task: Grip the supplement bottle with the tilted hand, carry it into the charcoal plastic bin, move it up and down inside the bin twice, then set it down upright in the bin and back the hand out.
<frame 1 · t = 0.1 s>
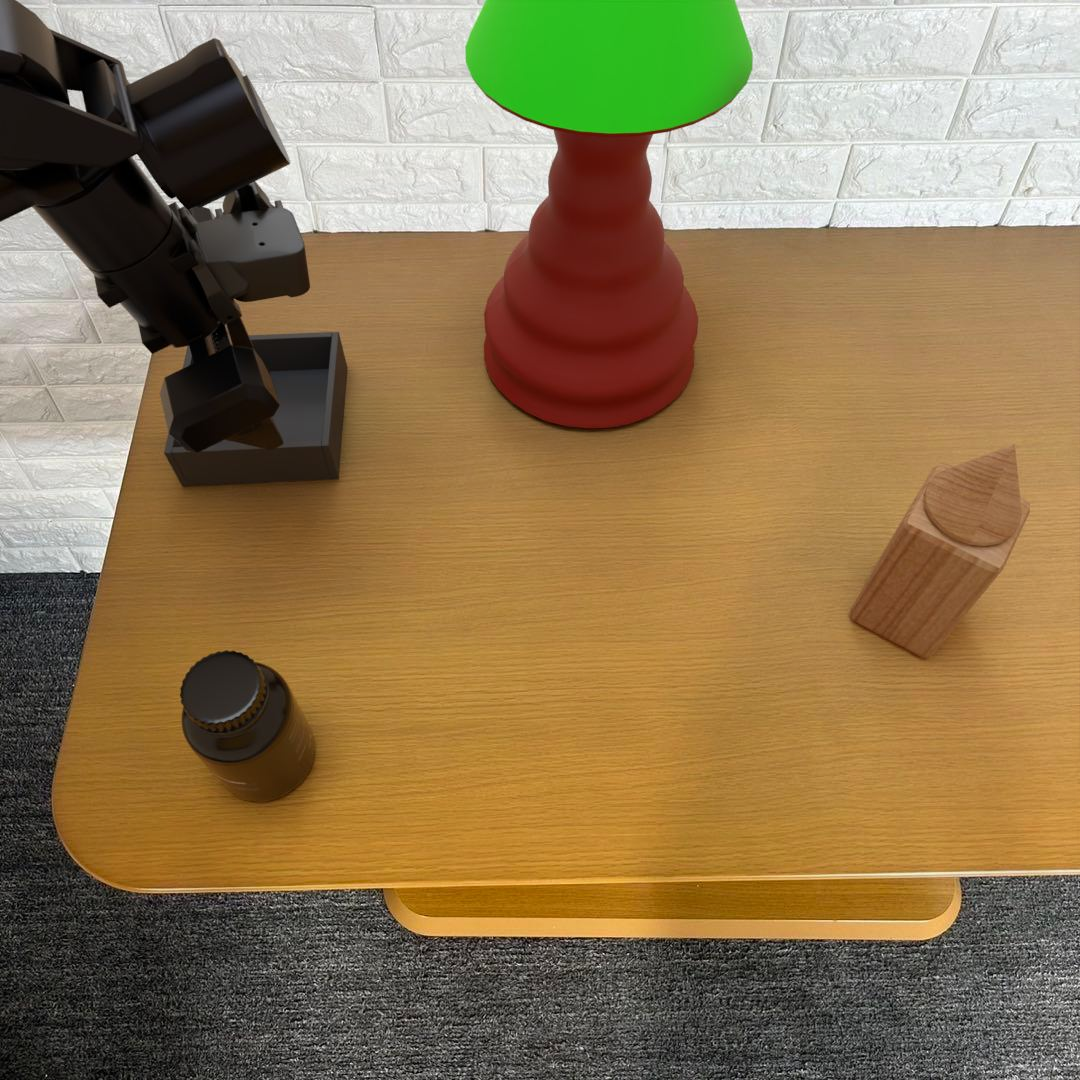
hand: (262, 399, 64), 13 cm above the table, tool pointing down, fingers open, 9 cm apart
supplement bottle: (269, 757, 63), on the table
bin: (268, 424, 80), on the table
table lamp: (588, 354, 85), on the table
decorative item: (900, 611, 70), on the table
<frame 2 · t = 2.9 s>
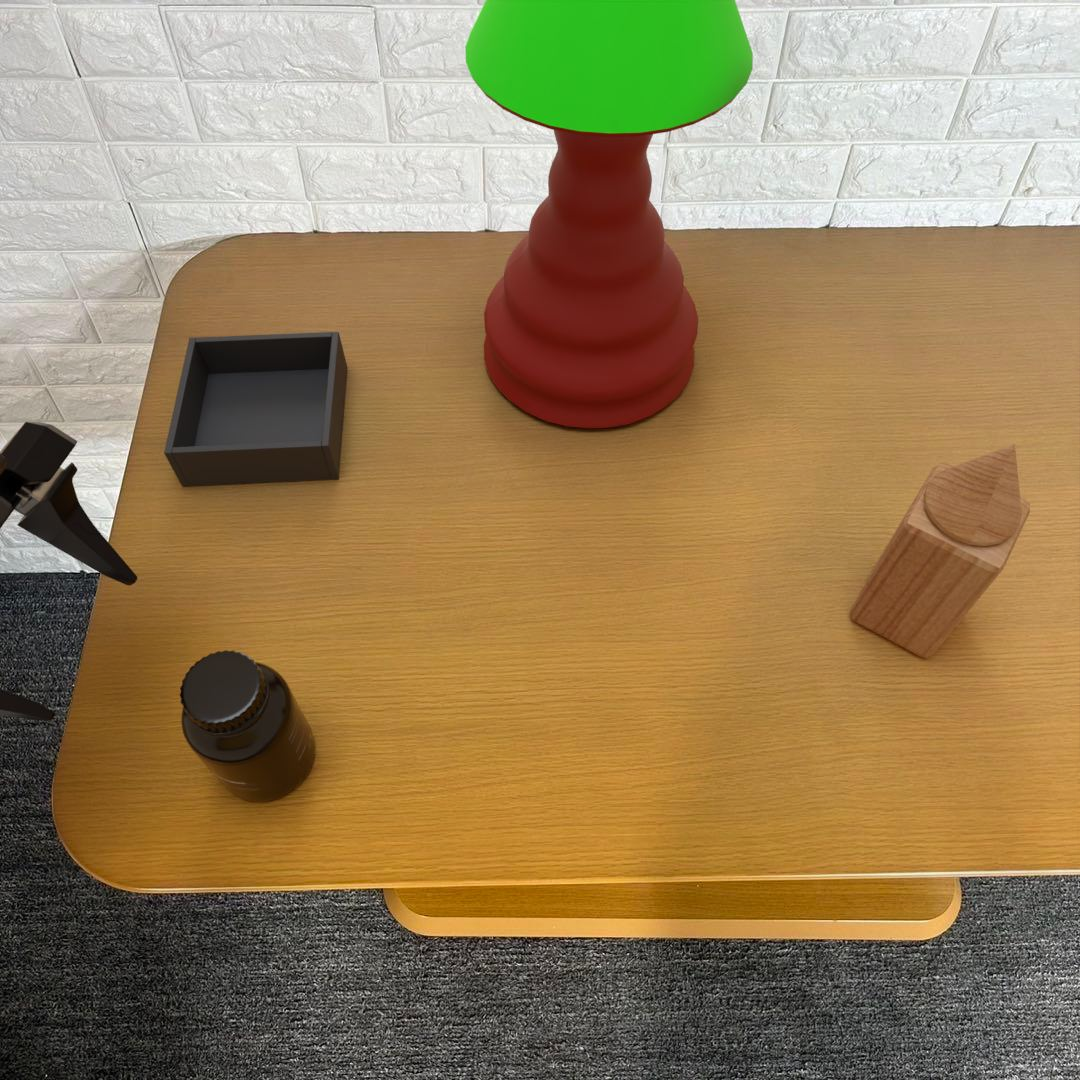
hand: (95, 646, 53), 13 cm above the table, tool tilted 45°, fingers open, 9 cm apart
nothing on the table moved.
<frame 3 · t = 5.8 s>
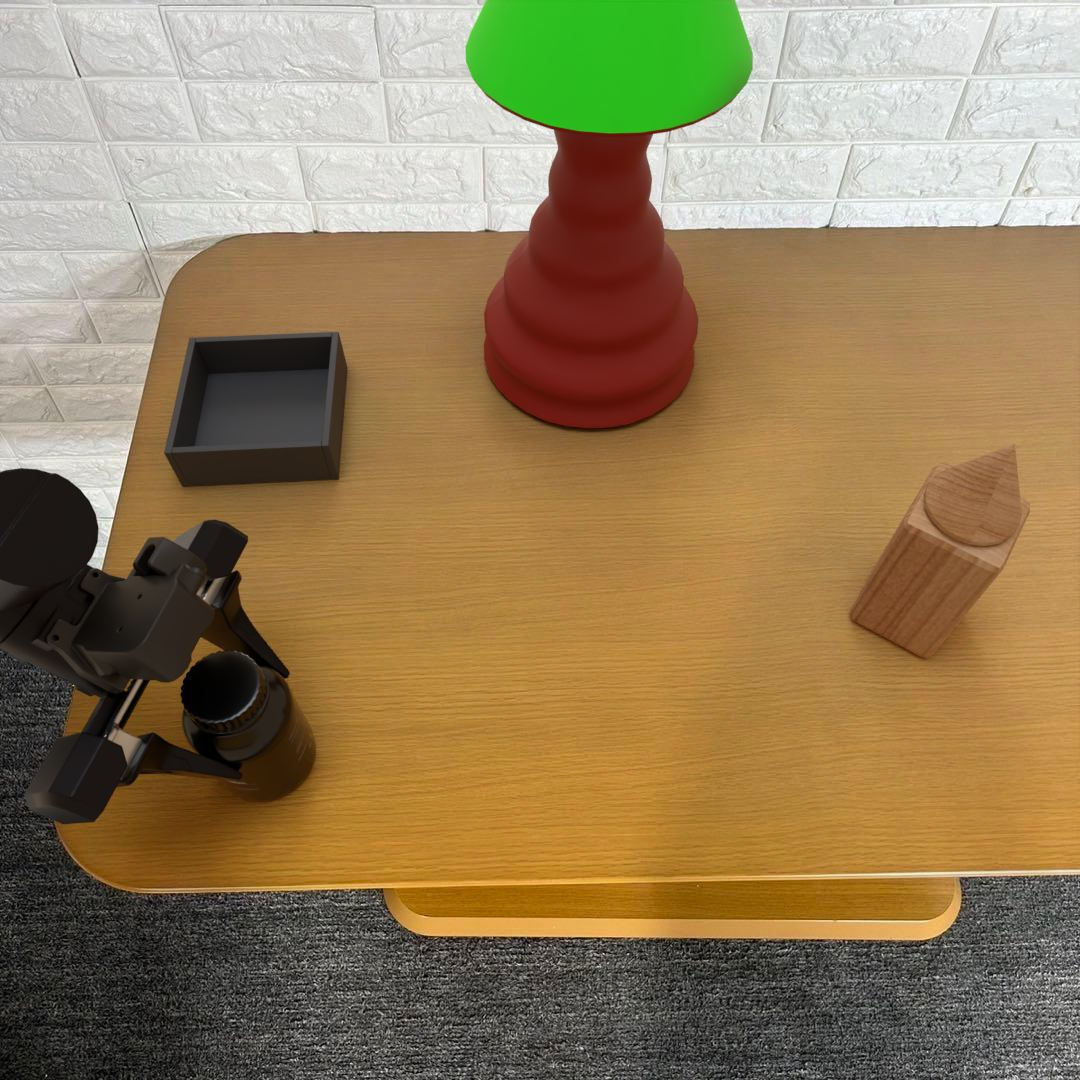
hand: (263, 725, 57), 7 cm above the table, tool tilted 45°, fingers closed on supplement bottle, 7 cm apart
supplement bottle: (270, 757, 63), on the table, touching gripper
everything else where it was.
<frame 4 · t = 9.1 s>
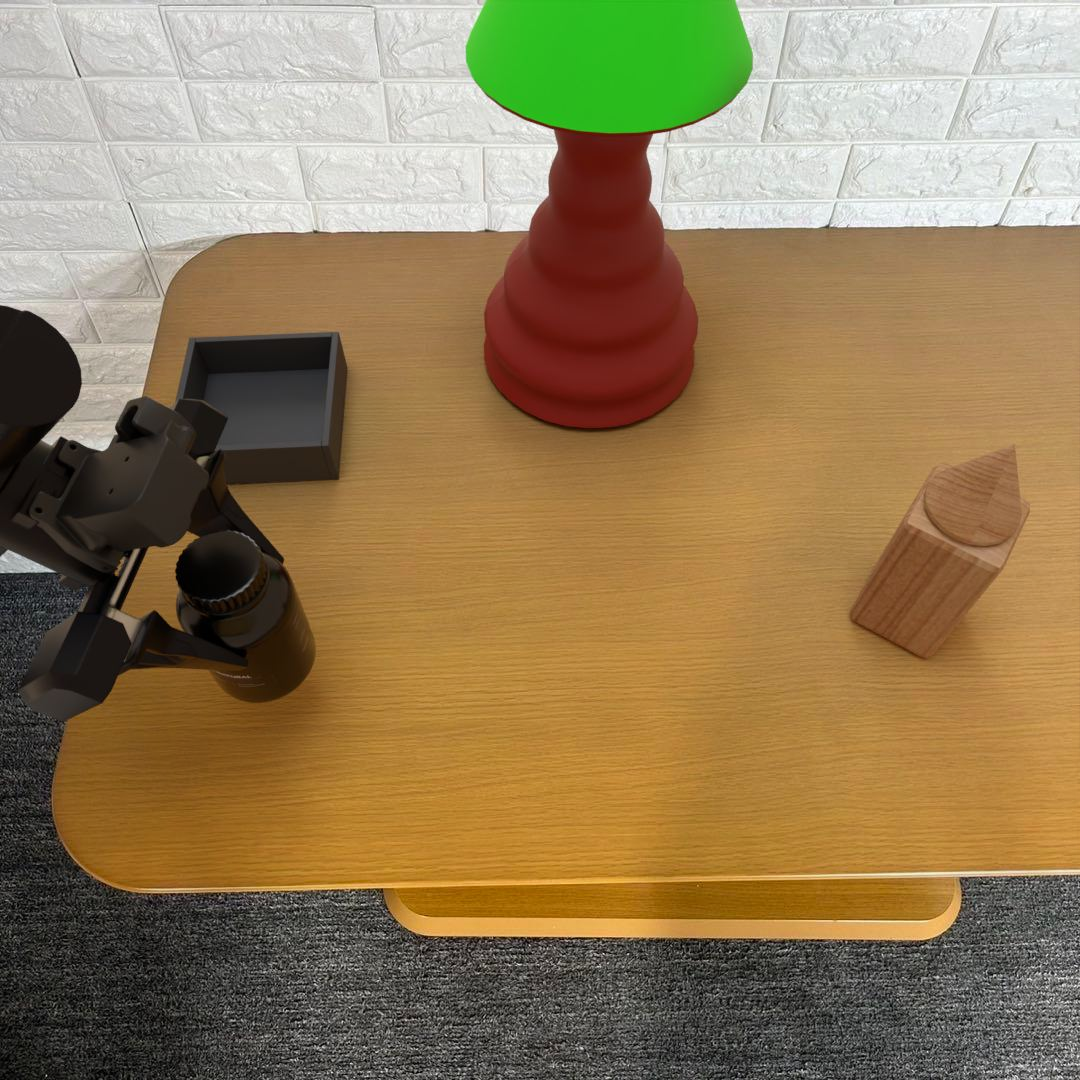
hand: (263, 614, 54), 13 cm above the table, tool tilted 45°, fingers closed on supplement bottle, 7 cm apart
supplement bottle: (268, 660, 60), point 6 cm above the table, touching gripper
everything else where it was.
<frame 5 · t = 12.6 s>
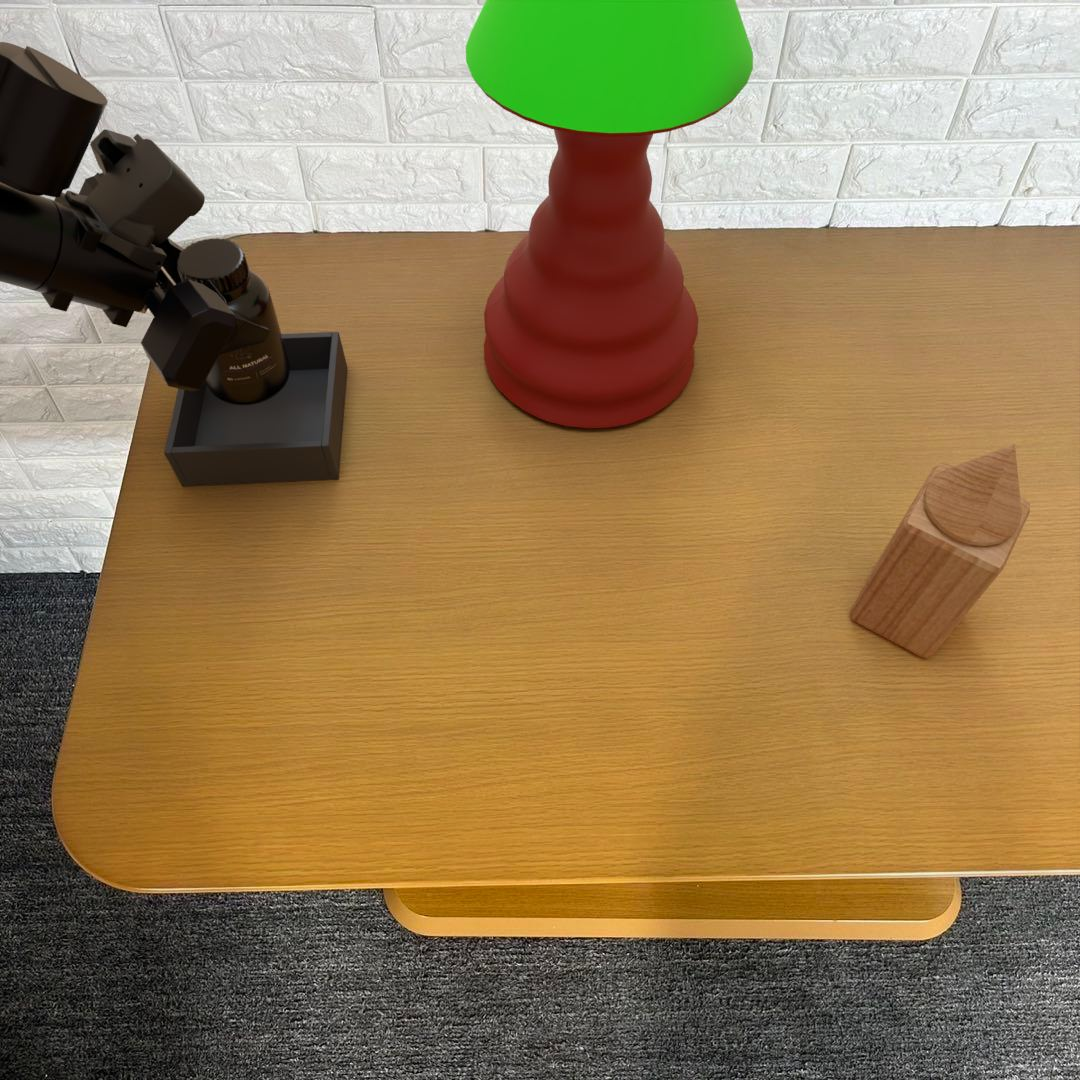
hand: (245, 309, 69), 13 cm above the table, tool tilted 45°, fingers closed on supplement bottle, 7 cm apart
supplement bottle: (251, 379, 74), point 6 cm above the table, touching gripper
everything else where it was.
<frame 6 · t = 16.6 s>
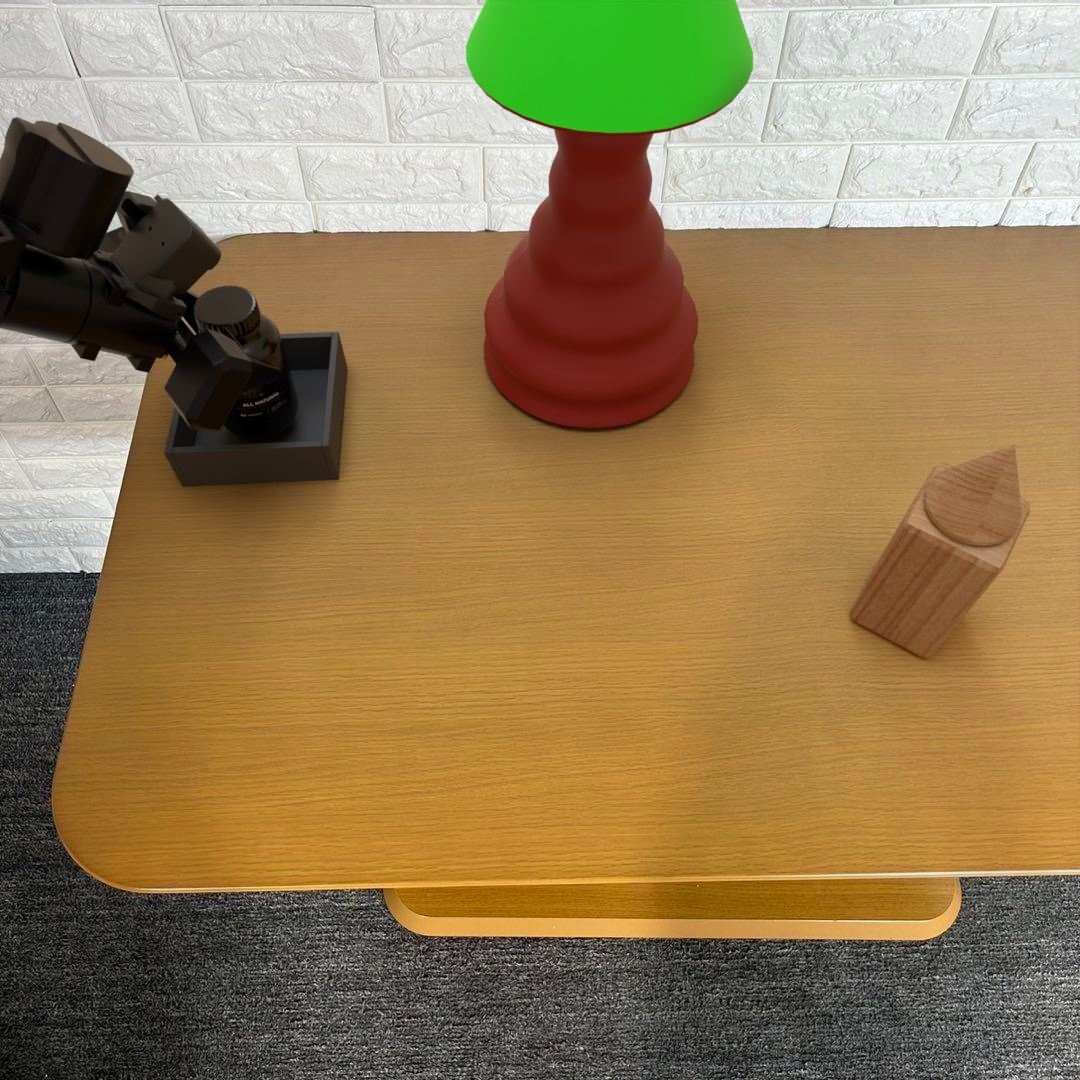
hand: (256, 350, 73), 8 cm above the table, tool tilted 45°, fingers closed on supplement bottle, 7 cm apart
supplement bottle: (261, 413, 79), point 2 cm above the table, touching gripper
everything else where it was.
when the fingers open (7 cm above the table, at t = 19.8 s): supplement bottle stays where it is, resting on bin.
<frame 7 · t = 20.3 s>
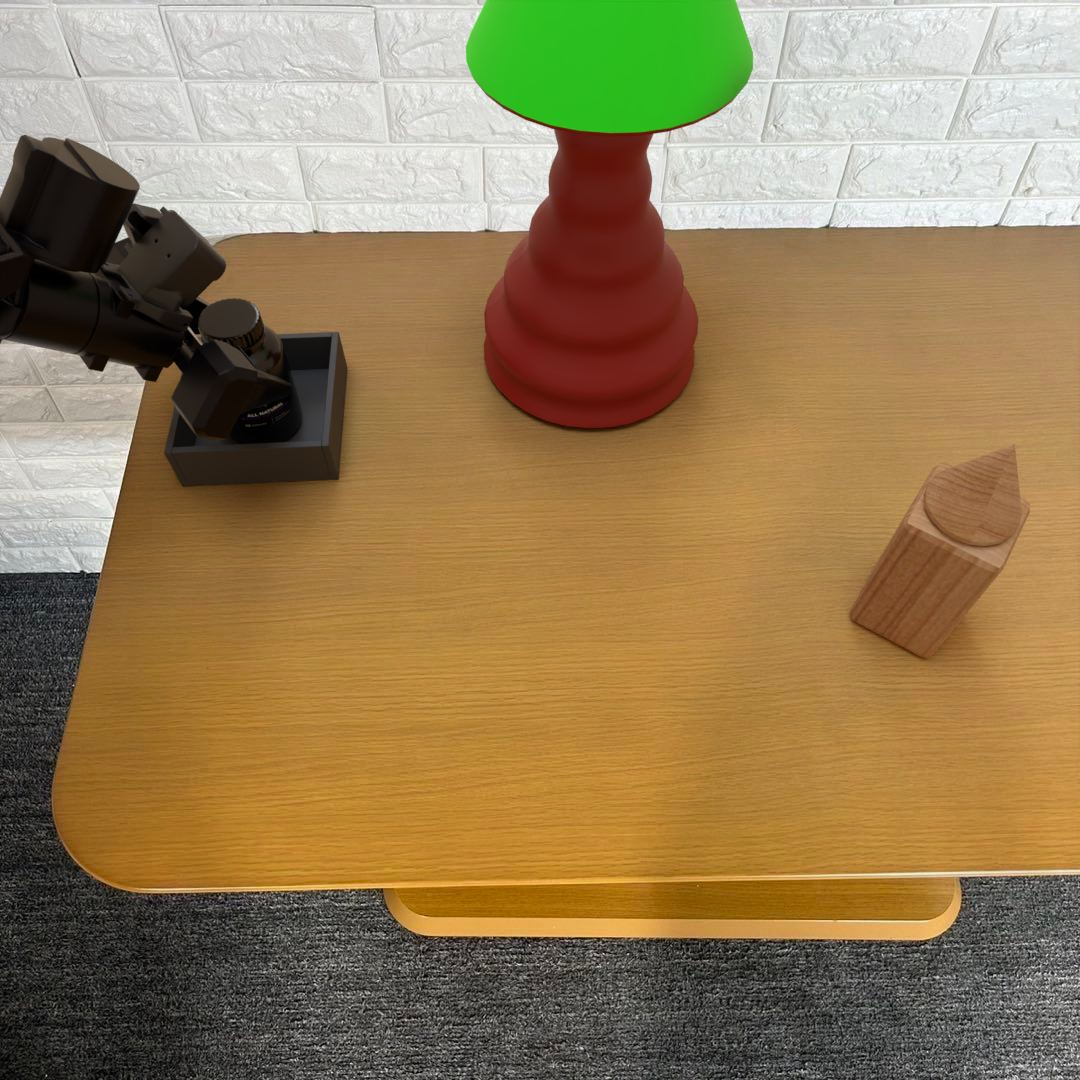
hand: (261, 357, 74), 7 cm above the table, tool tilted 45°, fingers open, 9 cm apart
supplement bottle: (266, 422, 80), resting on bin
everything else where it was.
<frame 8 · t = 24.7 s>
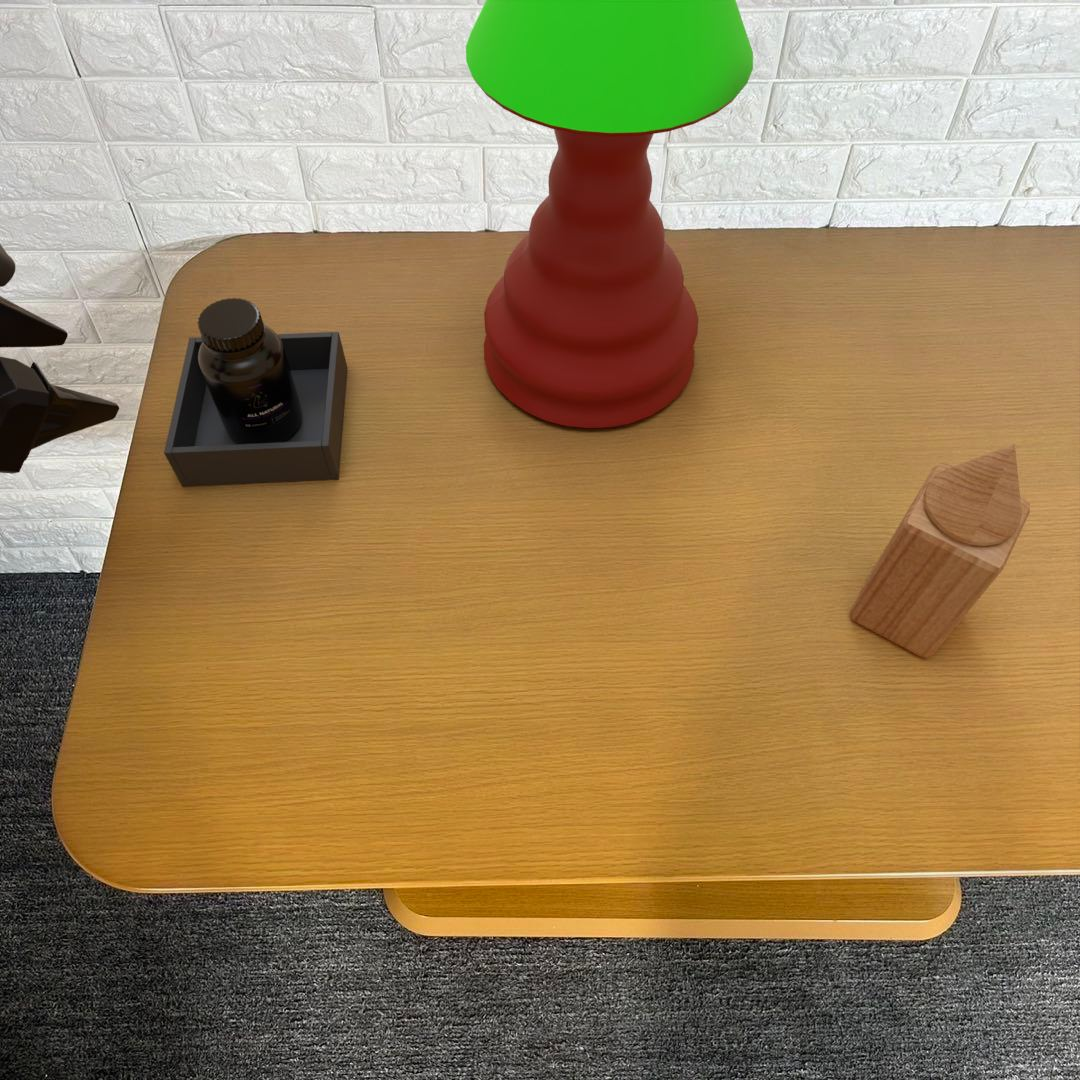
hand: (90, 373, 65), 14 cm above the table, tool tilted 45°, fingers open, 9 cm apart
nothing on the table moved.
at the end: supplement bottle inside the target area in the bin (0.1 cm from its centre), point 0.3 cm above the bin's base; supplement bottle tilted 0°; the gripper is holding nothing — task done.
